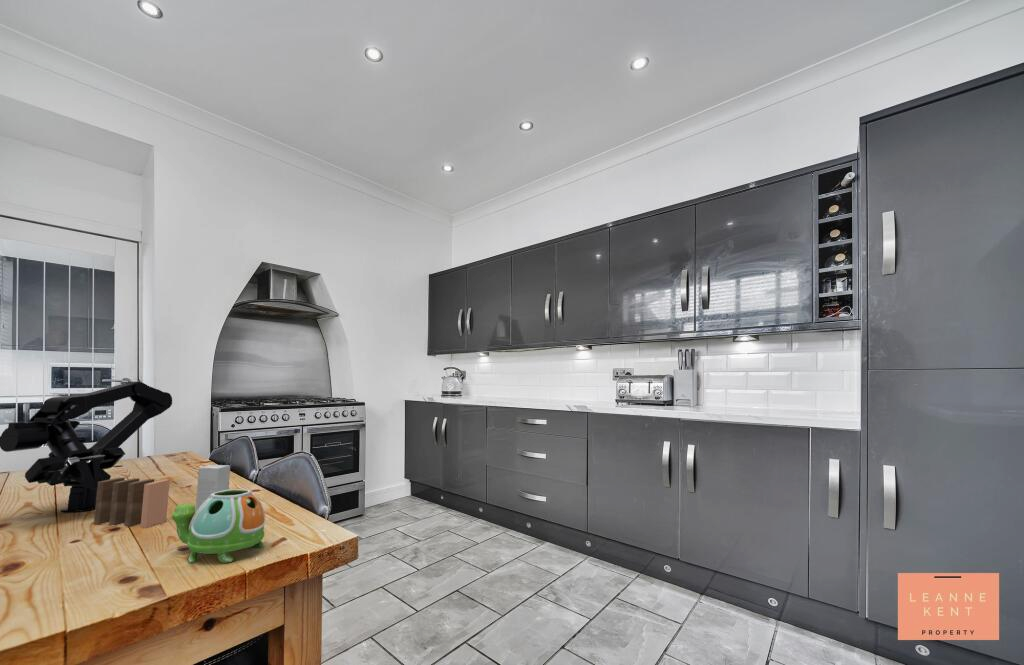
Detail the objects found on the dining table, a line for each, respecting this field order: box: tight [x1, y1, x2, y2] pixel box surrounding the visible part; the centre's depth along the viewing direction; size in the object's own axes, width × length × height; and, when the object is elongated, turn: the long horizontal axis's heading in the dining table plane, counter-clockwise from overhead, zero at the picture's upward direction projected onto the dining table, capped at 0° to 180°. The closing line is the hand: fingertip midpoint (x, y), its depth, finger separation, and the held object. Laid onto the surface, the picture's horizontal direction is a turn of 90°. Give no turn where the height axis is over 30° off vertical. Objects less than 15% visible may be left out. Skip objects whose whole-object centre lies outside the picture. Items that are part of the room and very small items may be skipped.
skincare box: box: [195, 464, 231, 512], centre depth 115 cm, size 6×4×12 cm
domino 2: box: [108, 477, 141, 526], centre depth 107 cm, size 2×5×10 cm, turn 170°
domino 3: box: [124, 478, 156, 528], centre depth 106 cm, size 2×5×10 cm, turn 170°
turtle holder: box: [171, 488, 266, 564], centre depth 89 cm, size 12×18×12 cm
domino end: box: [139, 479, 171, 529], centre depth 106 cm, size 2×5×10 cm, turn 170°
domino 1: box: [93, 477, 126, 526], centre depth 108 cm, size 2×5×10 cm, turn 170°
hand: (95, 488), depth 109 cm, fingers closed
